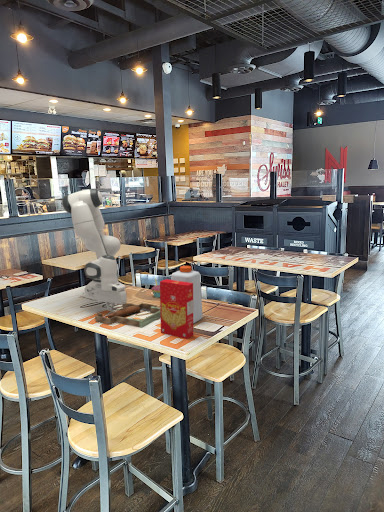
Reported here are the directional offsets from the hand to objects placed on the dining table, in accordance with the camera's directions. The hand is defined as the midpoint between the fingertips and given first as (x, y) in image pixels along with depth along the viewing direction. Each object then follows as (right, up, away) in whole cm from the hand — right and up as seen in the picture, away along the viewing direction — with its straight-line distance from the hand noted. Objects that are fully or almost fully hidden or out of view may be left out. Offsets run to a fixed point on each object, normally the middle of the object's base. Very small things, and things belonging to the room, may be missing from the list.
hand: (110, 309), depth 210 cm
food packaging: (+38, -7, -30) cm, 49 cm away
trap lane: (+13, -3, -6) cm, 14 cm away
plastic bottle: (+42, -4, -10) cm, 43 cm away
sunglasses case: (+7, -3, -2) cm, 8 cm away
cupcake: (+23, +4, +33) cm, 40 cm away
